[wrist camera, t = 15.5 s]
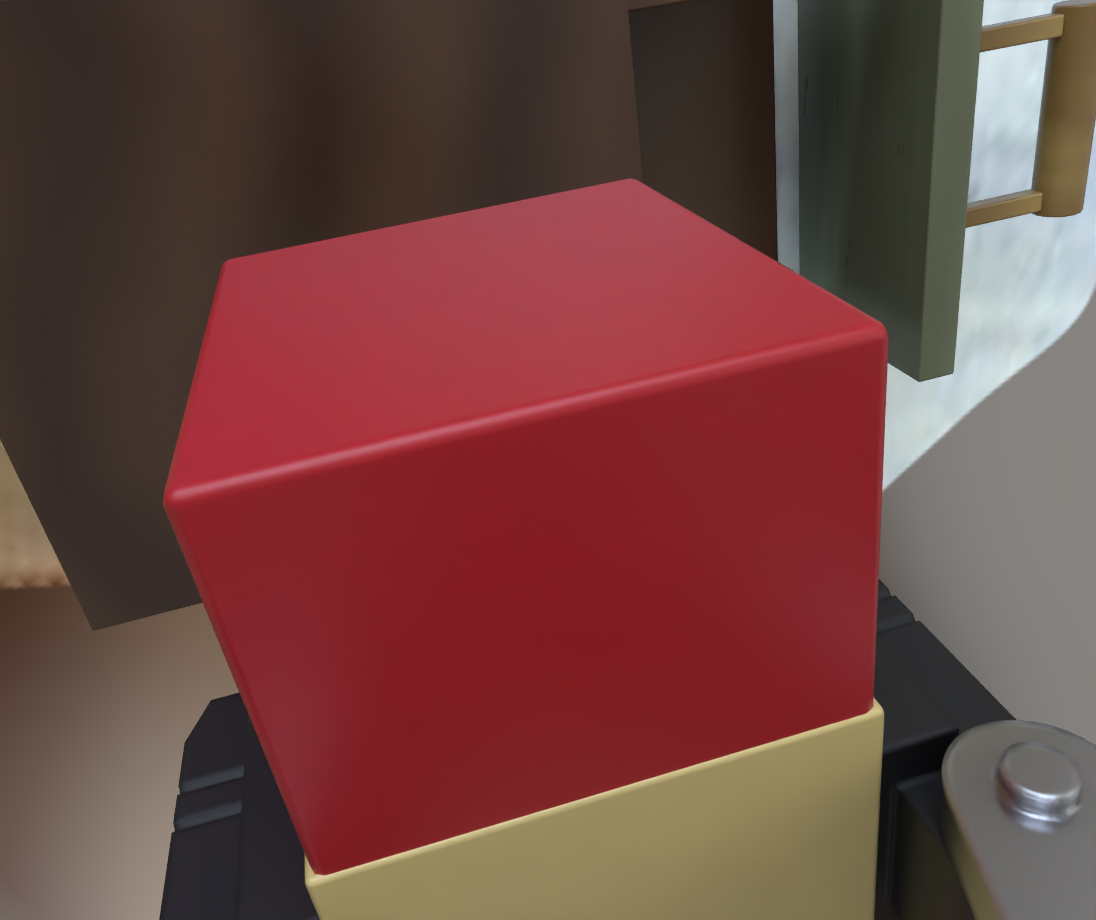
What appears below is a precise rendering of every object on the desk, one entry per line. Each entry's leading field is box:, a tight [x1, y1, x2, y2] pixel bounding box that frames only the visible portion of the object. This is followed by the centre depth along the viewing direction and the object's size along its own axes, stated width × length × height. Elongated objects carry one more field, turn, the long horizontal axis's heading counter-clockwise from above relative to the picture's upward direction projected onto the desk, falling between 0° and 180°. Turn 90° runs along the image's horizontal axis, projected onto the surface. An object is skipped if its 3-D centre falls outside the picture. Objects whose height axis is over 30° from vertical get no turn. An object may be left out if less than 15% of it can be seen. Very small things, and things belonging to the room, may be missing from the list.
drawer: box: [627, 0, 1096, 382], centre depth 27 cm, size 20×13×8 cm, turn 98°
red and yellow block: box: [163, 178, 888, 920], centre depth 9 cm, size 4×9×5 cm, turn 8°
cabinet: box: [0, 0, 643, 630], centre depth 25 cm, size 16×14×9 cm
